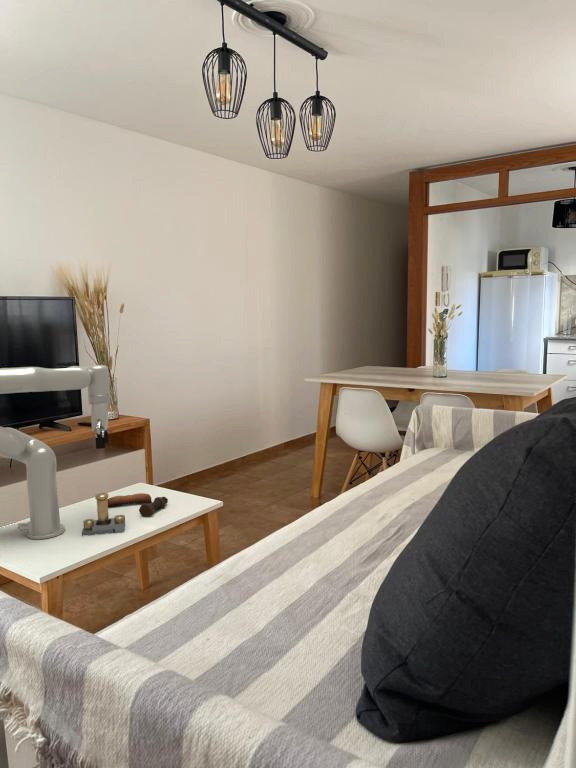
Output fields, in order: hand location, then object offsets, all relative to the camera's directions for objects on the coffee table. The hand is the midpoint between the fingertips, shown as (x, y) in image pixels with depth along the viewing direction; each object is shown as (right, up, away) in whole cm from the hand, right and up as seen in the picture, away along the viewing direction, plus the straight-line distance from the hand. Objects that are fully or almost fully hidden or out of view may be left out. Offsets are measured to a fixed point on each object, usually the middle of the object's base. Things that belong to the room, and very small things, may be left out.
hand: (102, 445), depth 215 cm
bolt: (+17, -27, +12) cm, 34 cm away
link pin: (+3, -29, -7) cm, 30 cm away
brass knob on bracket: (+3, -29, -7) cm, 30 cm away
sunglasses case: (+3, -26, +23) cm, 35 cm away
